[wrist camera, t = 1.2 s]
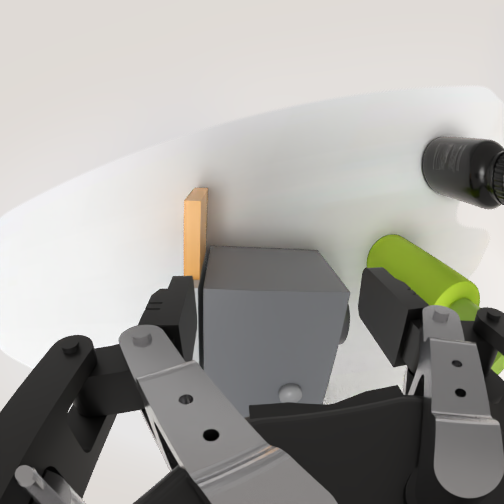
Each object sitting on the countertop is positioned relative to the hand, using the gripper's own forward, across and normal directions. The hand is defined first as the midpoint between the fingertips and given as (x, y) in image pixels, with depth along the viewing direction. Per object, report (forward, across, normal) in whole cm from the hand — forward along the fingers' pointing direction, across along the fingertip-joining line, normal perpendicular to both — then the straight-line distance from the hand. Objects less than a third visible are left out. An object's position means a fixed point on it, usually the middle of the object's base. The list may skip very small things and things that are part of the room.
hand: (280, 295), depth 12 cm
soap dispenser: (+20, -15, +7) cm, 26 cm away
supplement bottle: (+20, -22, -4) cm, 30 cm away
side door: (+19, +5, +9) cm, 22 cm away
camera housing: (+20, -1, +12) cm, 23 cm away
